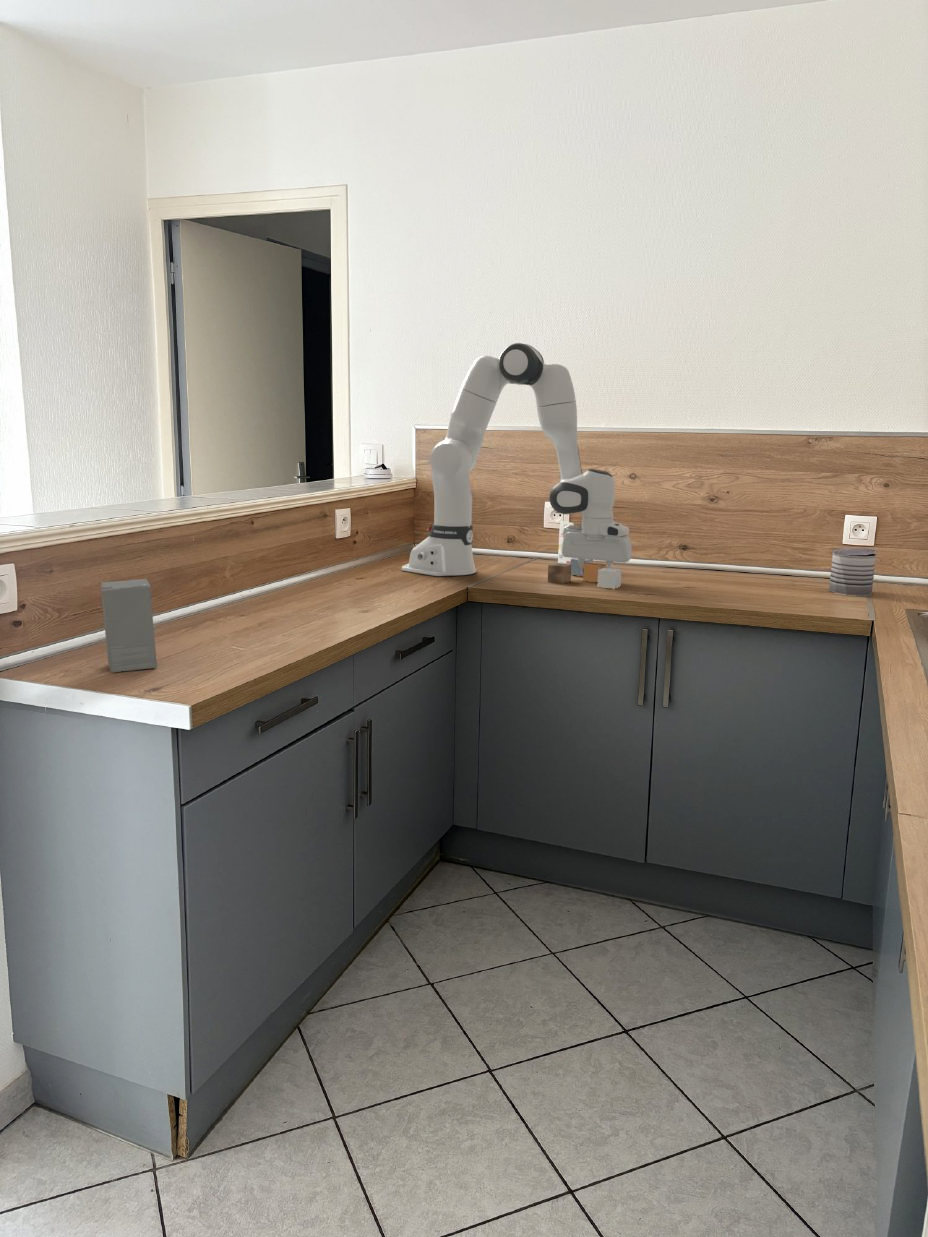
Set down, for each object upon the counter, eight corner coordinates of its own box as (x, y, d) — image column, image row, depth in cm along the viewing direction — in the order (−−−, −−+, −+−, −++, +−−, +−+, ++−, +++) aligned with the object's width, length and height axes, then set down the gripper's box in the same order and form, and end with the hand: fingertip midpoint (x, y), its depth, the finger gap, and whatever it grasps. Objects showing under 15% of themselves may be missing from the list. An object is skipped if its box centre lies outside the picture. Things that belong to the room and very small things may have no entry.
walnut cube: (547, 582, 267) (548, 564, 266) (554, 579, 271) (555, 562, 270) (563, 584, 264) (564, 566, 263) (570, 581, 269) (571, 564, 268)
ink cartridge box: (585, 570, 287) (587, 522, 284) (571, 571, 285) (573, 523, 282) (570, 566, 295) (572, 519, 292) (556, 567, 293) (558, 520, 290)
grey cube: (597, 587, 260) (598, 569, 259) (603, 585, 264) (604, 567, 263) (614, 589, 257) (615, 571, 256) (620, 587, 262) (621, 569, 261)
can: (876, 597, 253) (881, 553, 250) (832, 595, 255) (836, 551, 253) (867, 590, 264) (872, 547, 261) (825, 587, 266) (829, 546, 263)
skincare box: (153, 660, 176) (149, 577, 172) (157, 670, 169) (153, 584, 166) (105, 664, 172) (100, 579, 169) (107, 674, 166) (102, 586, 163)
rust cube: (583, 581, 269) (583, 564, 268) (589, 578, 273) (590, 561, 272) (599, 583, 267) (600, 565, 266) (605, 580, 271) (606, 563, 270)
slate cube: (570, 575, 278) (570, 559, 277) (576, 573, 283) (577, 557, 281) (585, 577, 276) (586, 560, 275) (591, 575, 280) (592, 558, 279)
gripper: (559, 525, 269) (557, 573, 272) (627, 530, 259) (624, 580, 262) (567, 523, 274) (565, 570, 277) (634, 528, 265) (632, 577, 268)
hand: (594, 575), depth 270 cm, fingers closed on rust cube, 5 cm apart
